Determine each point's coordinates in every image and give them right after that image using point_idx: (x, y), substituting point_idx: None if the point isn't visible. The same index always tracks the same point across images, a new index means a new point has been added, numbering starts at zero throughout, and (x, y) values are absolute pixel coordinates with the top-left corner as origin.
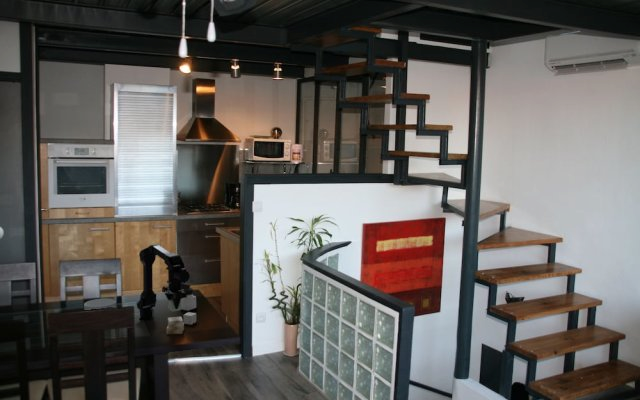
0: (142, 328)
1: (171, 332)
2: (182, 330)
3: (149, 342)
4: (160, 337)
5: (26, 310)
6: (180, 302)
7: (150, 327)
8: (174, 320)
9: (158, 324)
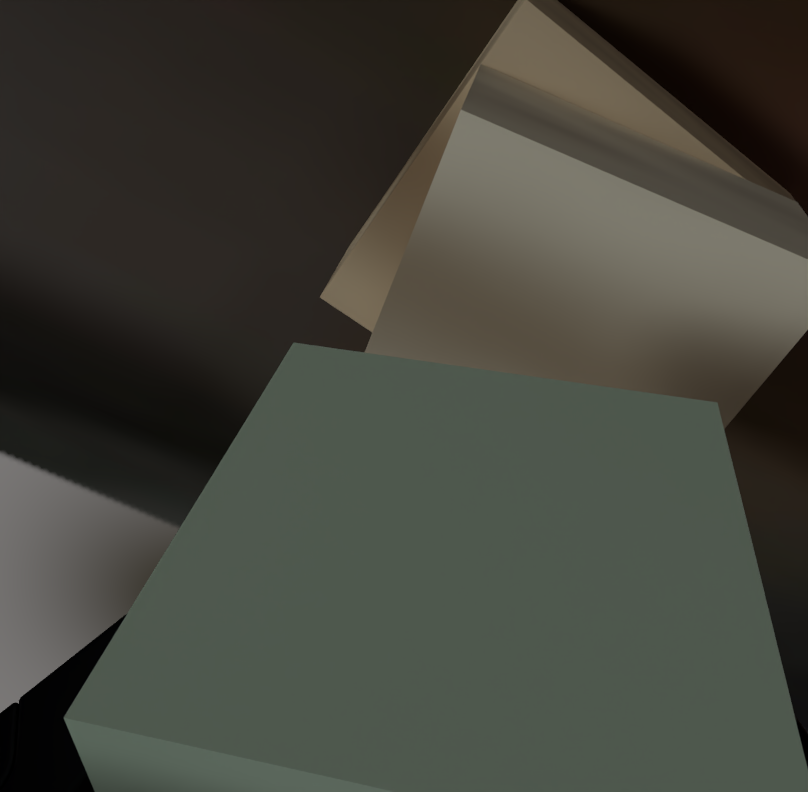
0: (139, 491)
1: None
2: (761, 178)
3: None
4: None
5: None
6: (789, 766)
7: (144, 410)
8: None
9: (51, 264)
